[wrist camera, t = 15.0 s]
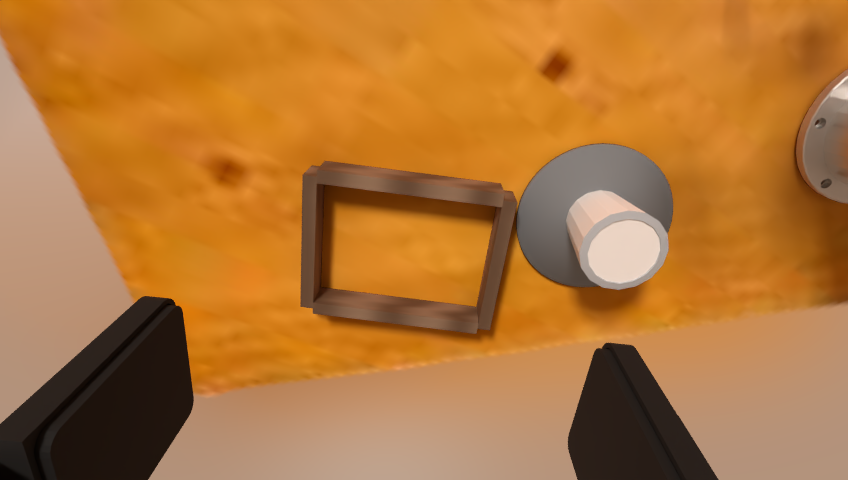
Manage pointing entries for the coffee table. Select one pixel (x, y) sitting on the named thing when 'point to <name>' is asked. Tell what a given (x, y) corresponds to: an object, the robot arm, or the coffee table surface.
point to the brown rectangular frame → (390, 306)
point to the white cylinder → (615, 240)
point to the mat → (573, 179)
